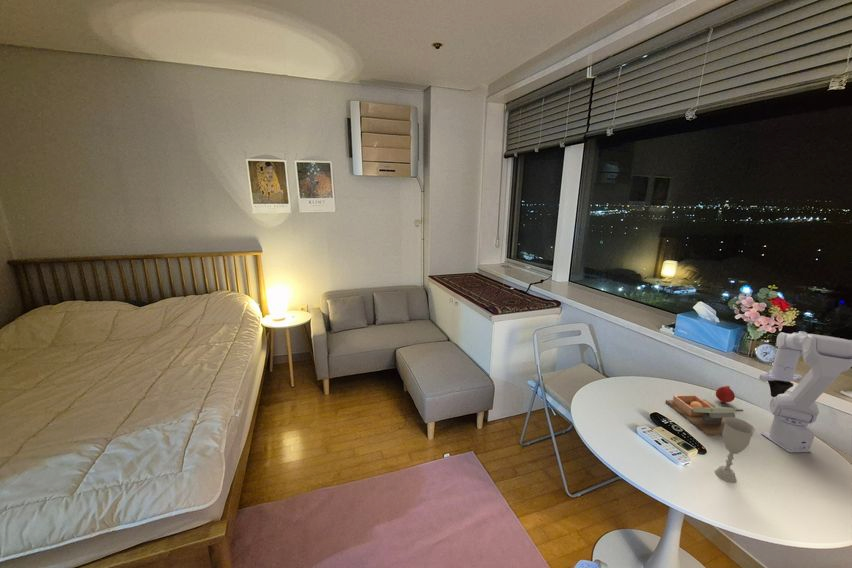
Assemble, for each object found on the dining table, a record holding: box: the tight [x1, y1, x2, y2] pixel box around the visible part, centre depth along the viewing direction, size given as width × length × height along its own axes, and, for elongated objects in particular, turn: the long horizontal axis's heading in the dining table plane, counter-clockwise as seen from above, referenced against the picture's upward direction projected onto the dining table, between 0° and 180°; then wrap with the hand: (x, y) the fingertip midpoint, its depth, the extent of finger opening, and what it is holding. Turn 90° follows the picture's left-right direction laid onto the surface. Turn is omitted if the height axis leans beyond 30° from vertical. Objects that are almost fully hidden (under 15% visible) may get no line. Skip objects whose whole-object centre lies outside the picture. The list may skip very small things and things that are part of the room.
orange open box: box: [672, 394, 713, 416], centre depth 132 cm, size 9×9×3 cm
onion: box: [715, 385, 736, 404], centre depth 137 cm, size 6×6×8 cm
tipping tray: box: [693, 406, 744, 418], centre depth 123 cm, size 10×18×3 cm
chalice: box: [714, 417, 756, 484], centre depth 99 cm, size 7×7×18 cm
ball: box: [690, 402, 703, 408], centre depth 130 cm, size 4×4×4 cm
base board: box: [665, 398, 725, 436], centre depth 128 cm, size 20×17×5 cm
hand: (775, 397), depth 125 cm, fingers closed
